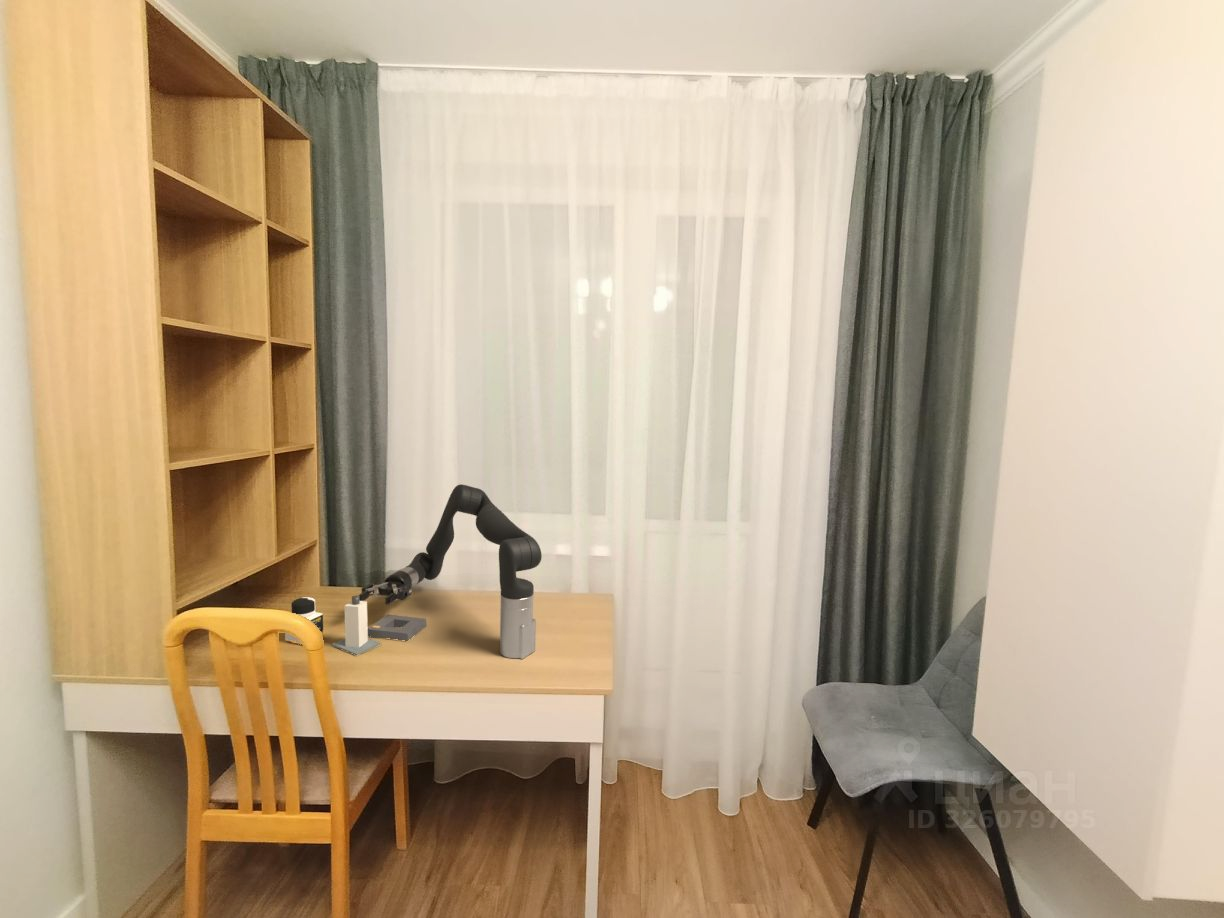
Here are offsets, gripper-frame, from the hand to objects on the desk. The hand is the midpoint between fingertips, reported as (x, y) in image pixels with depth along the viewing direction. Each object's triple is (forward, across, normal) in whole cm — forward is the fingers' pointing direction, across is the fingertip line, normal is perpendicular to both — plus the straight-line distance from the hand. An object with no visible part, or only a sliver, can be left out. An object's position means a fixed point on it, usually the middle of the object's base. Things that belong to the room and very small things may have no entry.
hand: (373, 599), depth 167 cm
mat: (+9, 0, +10) cm, 13 cm away
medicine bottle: (+8, -17, +11) cm, 22 cm away
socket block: (-2, +6, +10) cm, 12 cm away
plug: (+9, 0, +10) cm, 13 cm away
